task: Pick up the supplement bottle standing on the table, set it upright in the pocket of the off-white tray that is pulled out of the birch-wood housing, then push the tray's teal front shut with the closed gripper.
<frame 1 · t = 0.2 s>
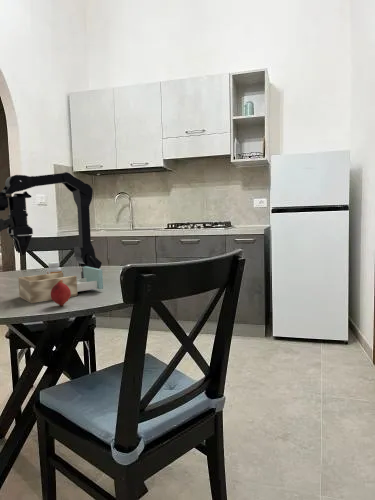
hand: (21, 253, 142), 14 cm above the table, fingers open, 9 cm apart
tray: (74, 279, 140), point 5 cm above the table, slide at 8.0 cm
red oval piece: (61, 306, 120), on the table
supplement bottle: (55, 288, 151), on the table
housing: (51, 296, 135), on the table
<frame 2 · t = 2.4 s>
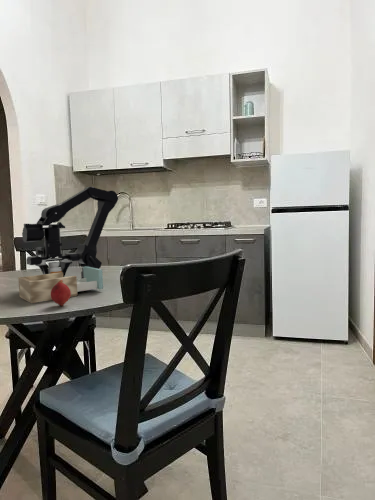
hand: (54, 281, 151), 3 cm above the table, fingers closed on supplement bottle, 5 cm apart
supplement bottle: (55, 288, 151), on the table, touching gripper
everything else where it was.
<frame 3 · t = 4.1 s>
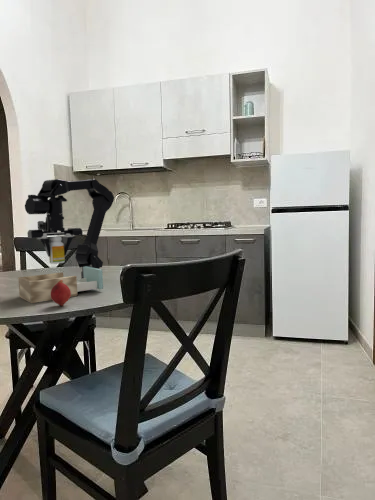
hand: (56, 256, 146), 13 cm above the table, fingers closed on supplement bottle, 5 cm apart
supplement bottle: (57, 263, 146), point 10 cm above the table, touching gripper
everything else where it was.
when the fingers open (6 cm above the table, at t = 6.2 s): supplement bottle drops 2 cm, resting on tray.
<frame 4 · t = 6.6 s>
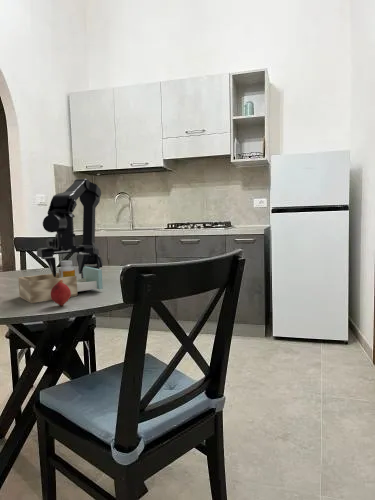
hand: (67, 275, 138), 6 cm above the table, fingers open, 9 cm apart
tray: (74, 279, 140), point 5 cm above the table, slide at 7.8 cm, touching supplement bottle
supplement bottle: (67, 288, 139), point 2 cm above the table, touching tray
everything else where it was.
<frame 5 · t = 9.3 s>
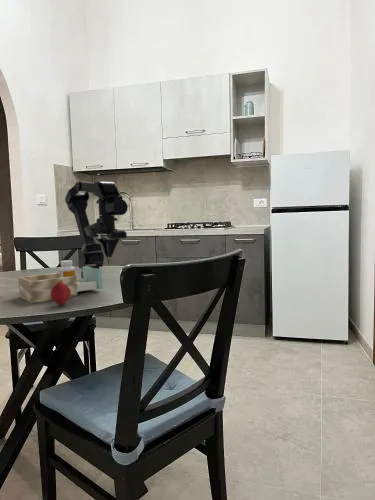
hand: (108, 256, 148), 12 cm above the table, fingers closed
nothing on the table moved.
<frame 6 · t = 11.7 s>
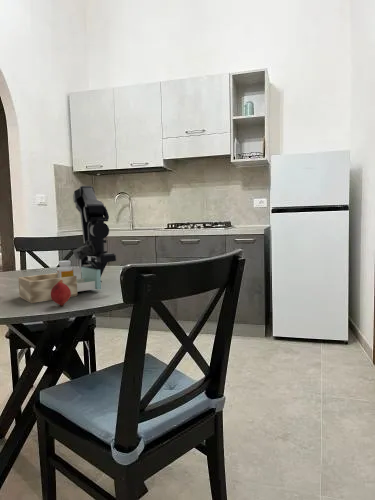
hand: (98, 279, 146), 4 cm above the table, fingers closed
tray: (72, 280, 140), point 5 cm above the table, slide at 7.2 cm, touching supplement bottle, gripper
everything else where it was.
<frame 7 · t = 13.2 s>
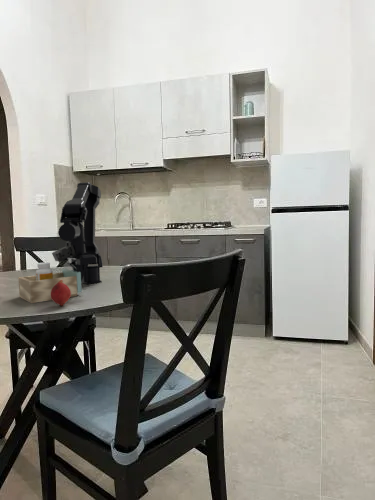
hand: (79, 281, 141), 4 cm above the table, fingers closed, pressing on tray
tray: (52, 282, 135), point 5 cm above the table, slide at -0.1 cm, touching supplement bottle, gripper
supplement bottle: (45, 291, 134), point 2 cm above the table, touching tray
everything else where it was.
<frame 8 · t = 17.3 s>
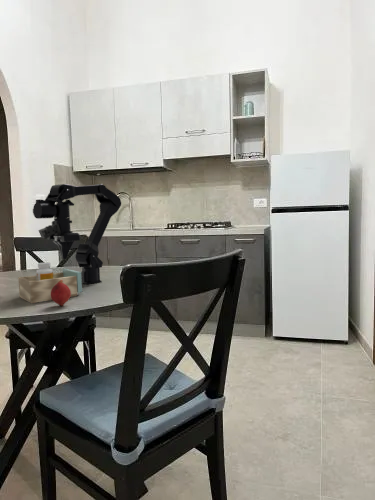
hand: (64, 259, 149), 11 cm above the table, fingers closed
tray: (52, 282, 135), point 5 cm above the table, slide at 0.0 cm, touching supplement bottle
everything else where it was.
at the end: tray slide at 0.0 cm; supplement bottle inside the target area on the housing (0.5 cm from its centre), point 1.7 cm above the housing's base; supplement bottle tilted 0° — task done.
